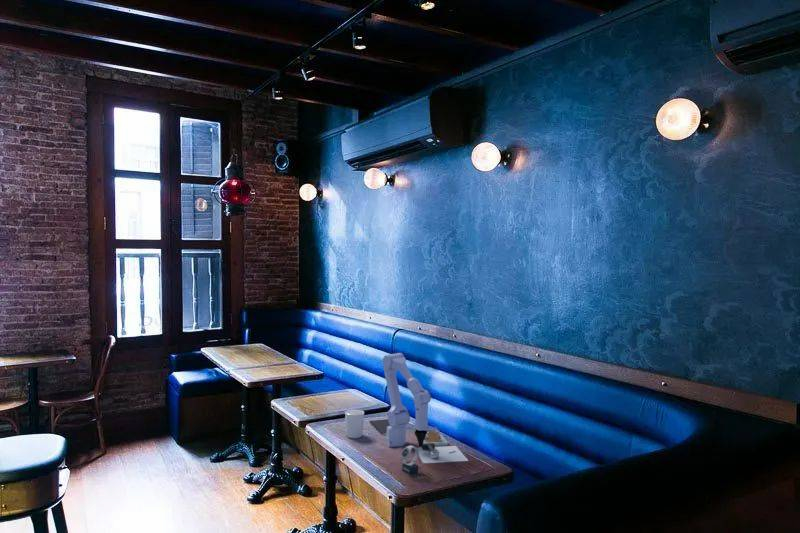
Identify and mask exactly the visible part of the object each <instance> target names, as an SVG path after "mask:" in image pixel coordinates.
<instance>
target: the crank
mask: <svg viewBox="0 0 800 533" xmlns="http://www.w3.org/2000/svg"><path fill="white" fill-rule="evenodd" d="M427 443H428V444H423V446H422V449H427V450H428V451H429V453H430V458H432V459H438V458H439V451H436V450H434V449H435V447H436V446H435V444H434V443H429V442H427Z"/></svg>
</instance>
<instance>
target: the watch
mask: <svg viewBox="0 0 800 533" xmlns="http://www.w3.org/2000/svg"><path fill="white" fill-rule="evenodd" d="M414 448H415V449H414ZM417 448H418V447H415V446H414V445H408V446H406V447H404V448H403V449H402V450H401V453H400V456H401V458H400V459H401V460H402V461H401V462H402V465H401V466H402V467H401V471H402V472H403V473H405V474H407V475H409V476H412V475H413V476H414V475H416V474H418V473H419V465H417V464H416V463H417V461H418V459H419V458H420V457H419V451H418V449H417ZM413 449H414V451H415V452H414V454H413V457H412V459H411V461H408V460H409V458H410V457H411V456H412V451H413ZM407 461H408V462H407Z"/></svg>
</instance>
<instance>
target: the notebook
mask: <svg viewBox="0 0 800 533" xmlns="http://www.w3.org/2000/svg"><path fill="white" fill-rule="evenodd" d="M369 424H371V426H372V427H373V428H374V429H375V430H376V431H377V432H379V434H380V435H381V436H387V426H390V424H389V422H388V418H386V419H376V420H369Z"/></svg>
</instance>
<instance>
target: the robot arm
mask: <svg viewBox="0 0 800 533" xmlns="http://www.w3.org/2000/svg"><path fill="white" fill-rule="evenodd" d="M406 361H407V360H406V357H405V356H404V354H403V353H402V352H397V353H391V354H385V355H384V356H383V358H382V360H381V363H382V368H383V371H384V377H385V382H386V387H387V391H388V398H389V401H390V406H391V407H390V409H389V410H388V411H387V414H388V417H387V419H388V422H389V424H390V426H387V435H385V436H386V440H385V442H386V444H387V446H388V447H389V448H390V447H391V448H393V447H402V446H404V445H405V444H407V430H413V431H414V435H415V437H416V439H417V443H418V446H419V447H418V448H421V447H422V446H423V442H424V441H425V436H426V435H428V432H434V433H436V432H437V430H438V429H437V427H435V426H434V427H433V426H431V425H428V423H429V422H428V418H429V417H428V416H429V412H428V411H429V403H430V402H431V400H432V398H431V397H432V396H431V394H430V392H429V390H427V389H425V388H423V386H422V384H421V383H420V381H419V379H417V378H416V377H413V375H412V373H411V371H410V369H409V367H408V366H407V364H406V363H407V362H406ZM398 371H399V372H400V374H401V375H402V377H403V379H405V381H406V386H407V388H408V390H409V391H410V392H411V394H412V396H413V397H412V399H413V400H412V401H413V403H414V408H415V417H414V418H415V422H414V423H413V424H412V423H411V424H409V422H410V421H411V416H410V413H409V412H408V409H407V407H406V406H405V405H403V402H402V398H401V393H400V392H401V391H400V388H399V384H398V379H397V372H398Z"/></svg>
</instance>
